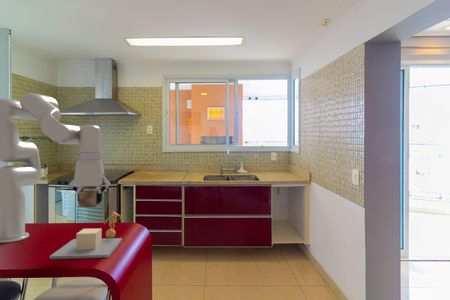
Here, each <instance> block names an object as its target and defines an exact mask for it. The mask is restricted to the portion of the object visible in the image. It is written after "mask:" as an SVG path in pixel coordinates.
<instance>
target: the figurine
mask: <svg viewBox="0 0 450 300" xmlns="http://www.w3.org/2000/svg"><path fill="white" fill-rule="evenodd" d="M118 217H119V219H118V220H119V221H122V215H121V214H118V213H117V212H115V211H114V210H113V211H112V213H111V216H109V217H108V218H107V219H106V220H105V221H104V225H105V224H106V223H107V222H108V221H109V220H110V219H111V220H110V222H109V223H108V225H109V227H110V228H108V230H107V231H106V232H105V236H106V238H115V236H116V233H117V232H116V230H115V226H116V225H115V223H116V222H117V218H118Z"/></svg>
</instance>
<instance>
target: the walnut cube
mask: <svg viewBox="0 0 450 300" xmlns="http://www.w3.org/2000/svg"><path fill="white" fill-rule="evenodd" d="M97 193H98V191H97V189H96V188H95V189H93V188H92V189H83V190H82V191H79V202H78V208H96V207H98V206H100V205H101V203H99V204H97Z"/></svg>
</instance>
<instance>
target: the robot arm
mask: <svg viewBox="0 0 450 300" xmlns="http://www.w3.org/2000/svg"><path fill="white" fill-rule="evenodd" d="M61 116H62V113H61V111H60V110H59V103H58V101H57V100H56V98H53V97H52V96H50V95H44V94H39V93H34V92H29V93H25V94H23V95H22V96H21V97H20V99H19V100H18V99H11V98H0V162H2V163H21V164H18V165H17V164H15V165H13V164H12V165H4V166H1V167H0V244H2V243H3V244H4V243H5V244H6V243H13V242H14V243H15V242H19V241H22V240H25V239H27V238H29V237H30V233H29V232H26V195H25V193H24V191H23V190H22V188H21V187H26V186H27V187H28V186H29V187H30V186H33V185H37V184H38V183H39V182H40V181H41V178H42V168H41V159H40V152H39V148H38V147H37V145H36V144H35V143H34V142H32V141H28V140H23V141H22V140H21V139H20V132H19V129H18V127H17V125H16V124H15V123H14V122H13V121H12V120H17V121H25V122H34V121H38V122H39V123H40V129H41V132H42V133H43V134H44V135H45V136H46V137H48V138H49V139H50V140H52V141H53V142H54V143H57V144H59V145H79V151H78V153H77V154H75V158H76V159H77V158H78V160H77V161H76V165H75V170H74V178H73V179H72V180H71V181H70V182H69V184H68V186H69V187H70V188H71V189H72V190H73V191H74V192H75V193H76V194H77V202H78V203H79V191H82V190H84V188H87V187H88V188H89V187H92V188H93V187H95V189H97V191H98V193H97V204H99V203H100V204H101V203H102V201H103V192H104V191H106V189H108V188H109V186H111V182H110V181H109V180H108V179H107V178H106V176H105V169H104V162H103V160H101V157H102V156H101V155H102V154H101V153H102V152H101V146H102V145H101V144H102V143H101V141H102V140H101V137H102V136H101V135H102V134H101V133H102V132H101V131H102V130H101V127H100V126H98V125H92V124H91V125H90V124H89V125H88V124H87V125H86V124H85V125H73V124H65V123H61V122H60V121H59V120H61Z"/></svg>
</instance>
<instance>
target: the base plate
mask: <svg viewBox="0 0 450 300" xmlns="http://www.w3.org/2000/svg"><path fill="white" fill-rule="evenodd" d="M102 231H103V230H102V227H101V228H82V229H80V230H79V232H77V233H76V234H75V235H76V236H75V237H76V238H74V239H71V240H70V241H69V242H67V243H66V244H64V245H63V246H62V247H60V248H59V249H58V250H56V251H55V252H53V253H52V254H51V255H49V260H68V259H72V260H73V259H100V258H101V259H103V257H104V259H105V258H109V257H110V256H111V255H112V253H113V252H114V251H115V250H116V249H117V248H118V246H119V245H120V244H121V242H122V241H123V238H122V237H120V238H119V237H116V238H115V237H113V238H107V237H106V238H105V237H104V238H102V235H103V234H102V233H103V232H102Z"/></svg>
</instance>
